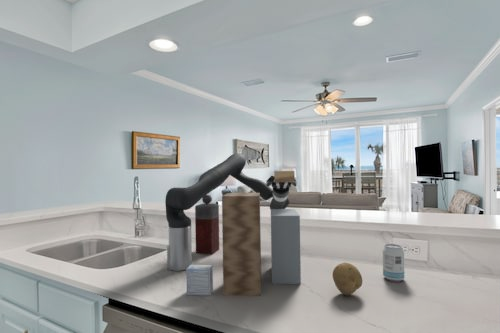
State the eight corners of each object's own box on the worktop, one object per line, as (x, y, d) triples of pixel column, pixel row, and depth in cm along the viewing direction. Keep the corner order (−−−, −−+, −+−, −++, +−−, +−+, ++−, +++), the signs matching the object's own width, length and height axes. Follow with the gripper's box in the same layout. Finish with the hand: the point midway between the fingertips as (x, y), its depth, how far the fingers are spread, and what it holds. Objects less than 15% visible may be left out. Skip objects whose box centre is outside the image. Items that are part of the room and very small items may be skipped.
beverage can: (404, 277, 104) (403, 244, 104) (404, 284, 98) (404, 249, 98) (383, 274, 107) (383, 242, 108) (382, 280, 101) (382, 247, 101)
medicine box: (213, 290, 96) (212, 264, 96) (210, 296, 91) (209, 269, 91) (190, 289, 96) (190, 264, 96) (186, 295, 92) (185, 268, 92)
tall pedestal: (223, 295, 92) (222, 196, 92) (228, 280, 104) (227, 193, 104) (260, 295, 91) (258, 195, 91) (261, 280, 103) (259, 192, 103)
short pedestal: (272, 283, 100) (271, 215, 101) (271, 267, 117) (270, 209, 117) (300, 283, 100) (299, 215, 100) (295, 267, 116) (295, 208, 116)
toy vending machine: (221, 248, 146) (220, 193, 146) (212, 254, 136) (211, 196, 136) (205, 247, 149) (204, 193, 149) (195, 253, 138) (194, 195, 138)
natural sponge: (348, 286, 97) (347, 257, 97) (369, 297, 89) (368, 265, 89) (327, 291, 93) (326, 261, 93) (347, 303, 85) (346, 270, 85)
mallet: (294, 182, 102) (294, 171, 102) (274, 182, 102) (274, 171, 102) (289, 179, 122) (289, 170, 122) (273, 179, 122) (273, 170, 122)
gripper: (265, 183, 133) (265, 165, 119) (295, 183, 133) (298, 164, 118) (265, 198, 130) (265, 181, 115) (296, 198, 129) (300, 180, 114)
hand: (282, 173), depth 116 cm, fingers closed on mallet, 3 cm apart
